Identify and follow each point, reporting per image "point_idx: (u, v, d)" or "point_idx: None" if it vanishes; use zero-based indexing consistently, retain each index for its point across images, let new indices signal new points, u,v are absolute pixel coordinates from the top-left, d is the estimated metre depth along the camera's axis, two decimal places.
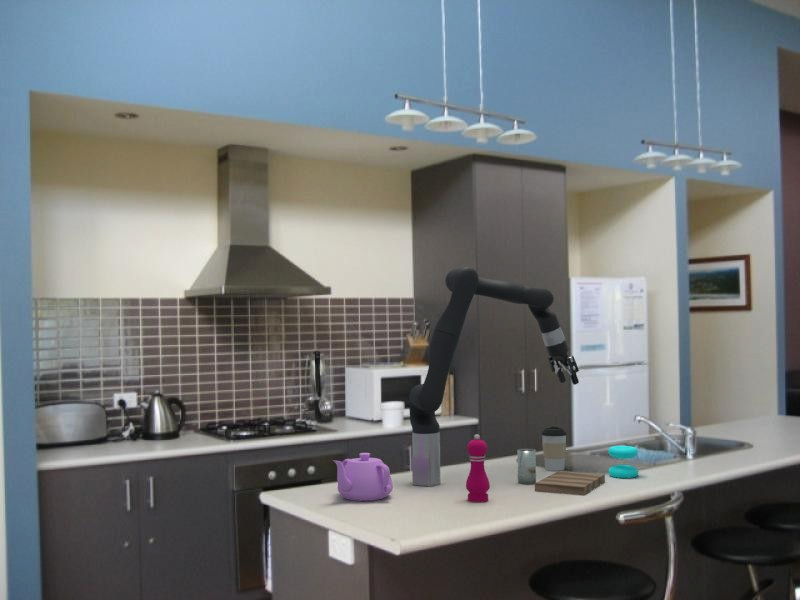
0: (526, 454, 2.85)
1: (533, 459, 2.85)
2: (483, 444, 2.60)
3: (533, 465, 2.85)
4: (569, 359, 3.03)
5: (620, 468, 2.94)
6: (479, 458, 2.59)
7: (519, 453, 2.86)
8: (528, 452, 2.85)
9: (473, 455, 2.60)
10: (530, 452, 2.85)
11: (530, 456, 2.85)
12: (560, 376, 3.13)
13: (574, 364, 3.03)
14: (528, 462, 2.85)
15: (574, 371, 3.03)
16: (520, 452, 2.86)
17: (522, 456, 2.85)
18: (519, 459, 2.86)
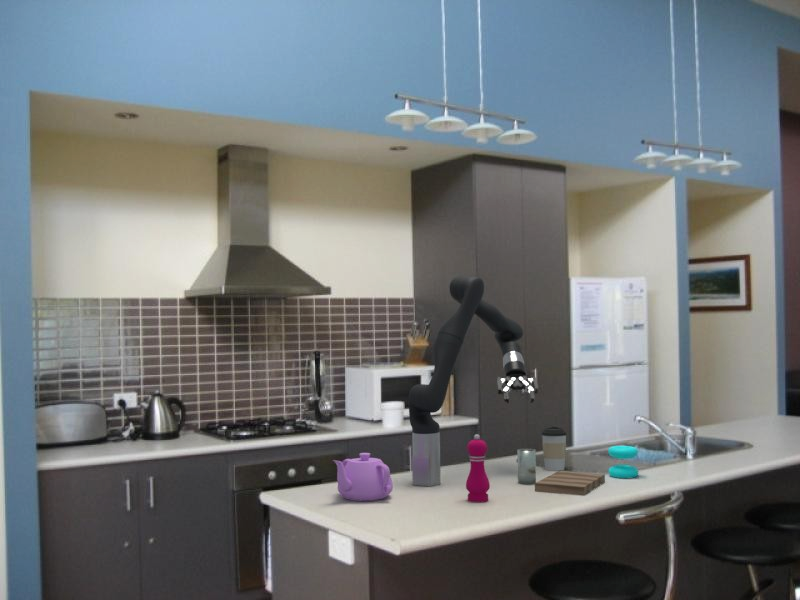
0: (526, 454, 2.85)
1: (533, 459, 2.85)
2: (483, 444, 2.60)
3: (533, 465, 2.85)
4: None
5: (620, 468, 2.94)
6: (479, 458, 2.59)
7: (519, 453, 2.86)
8: (528, 452, 2.85)
9: (473, 455, 2.60)
10: (530, 452, 2.85)
11: (530, 456, 2.85)
12: (507, 395, 3.01)
13: None
14: (528, 462, 2.85)
15: None
16: (520, 452, 2.86)
17: (522, 456, 2.85)
18: (519, 459, 2.86)
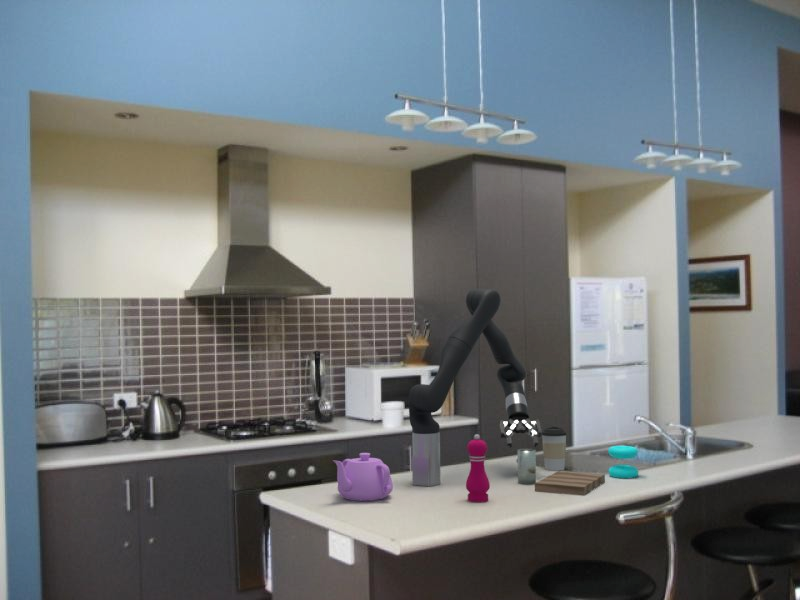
0: (526, 454, 2.85)
1: (533, 459, 2.85)
2: (483, 444, 2.60)
3: (533, 465, 2.85)
4: None
5: (620, 468, 2.94)
6: (479, 458, 2.59)
7: (519, 453, 2.86)
8: (528, 452, 2.85)
9: (473, 455, 2.60)
10: (530, 452, 2.85)
11: (530, 456, 2.85)
12: (510, 439, 2.96)
13: None
14: (528, 462, 2.85)
15: None
16: (520, 452, 2.86)
17: (522, 456, 2.85)
18: (519, 459, 2.86)
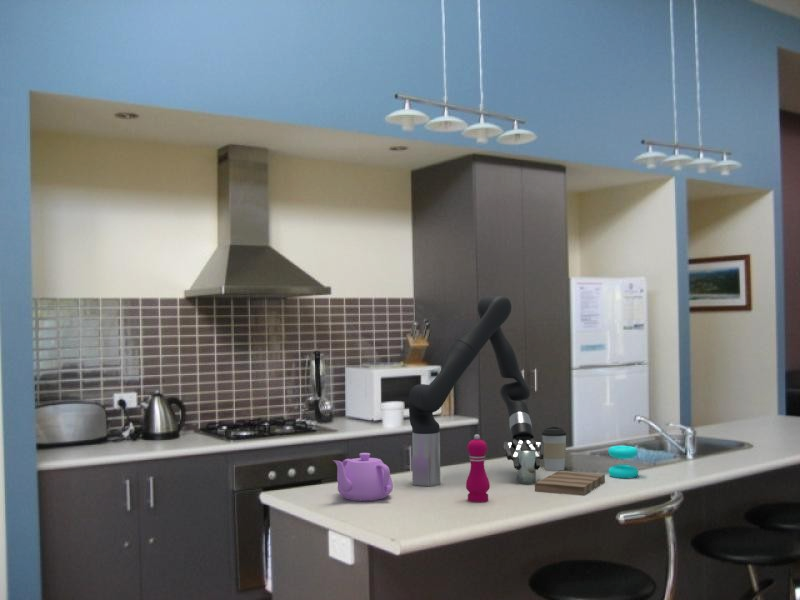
0: (526, 454, 2.85)
1: (533, 459, 2.85)
2: (483, 444, 2.60)
3: (533, 465, 2.85)
4: (543, 443, 2.92)
5: (620, 468, 2.94)
6: (479, 458, 2.59)
7: (519, 453, 2.86)
8: (528, 452, 2.85)
9: (473, 455, 2.60)
10: (530, 452, 2.85)
11: (530, 456, 2.85)
12: (517, 461, 2.87)
13: None
14: (528, 462, 2.85)
15: None
16: (520, 452, 2.86)
17: (522, 456, 2.85)
18: (519, 459, 2.86)
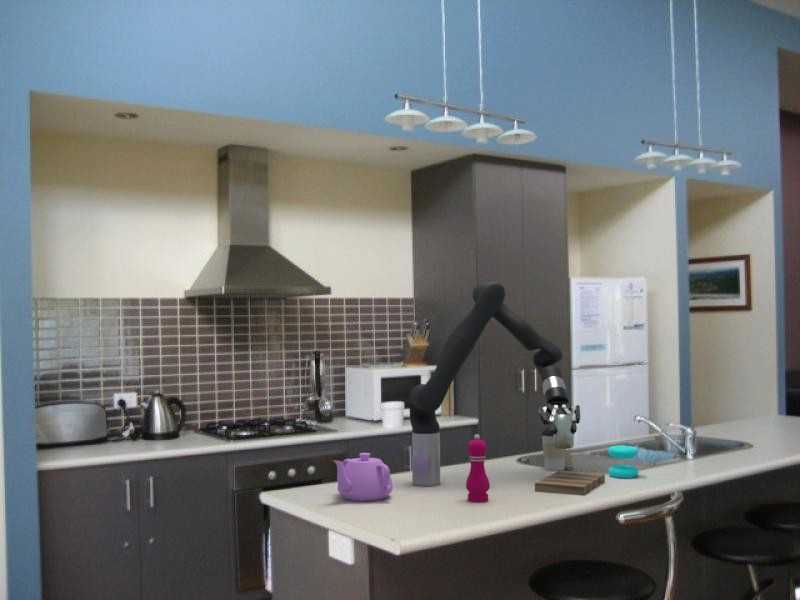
0: (562, 418, 2.80)
1: (569, 423, 2.80)
2: (483, 444, 2.60)
3: (570, 429, 2.80)
4: None
5: (620, 468, 2.94)
6: (479, 458, 2.59)
7: (555, 417, 2.81)
8: (564, 416, 2.80)
9: (473, 455, 2.60)
10: (566, 416, 2.80)
11: (567, 420, 2.80)
12: None
13: None
14: (565, 425, 2.80)
15: None
16: (556, 416, 2.81)
17: (558, 420, 2.80)
18: (555, 423, 2.81)
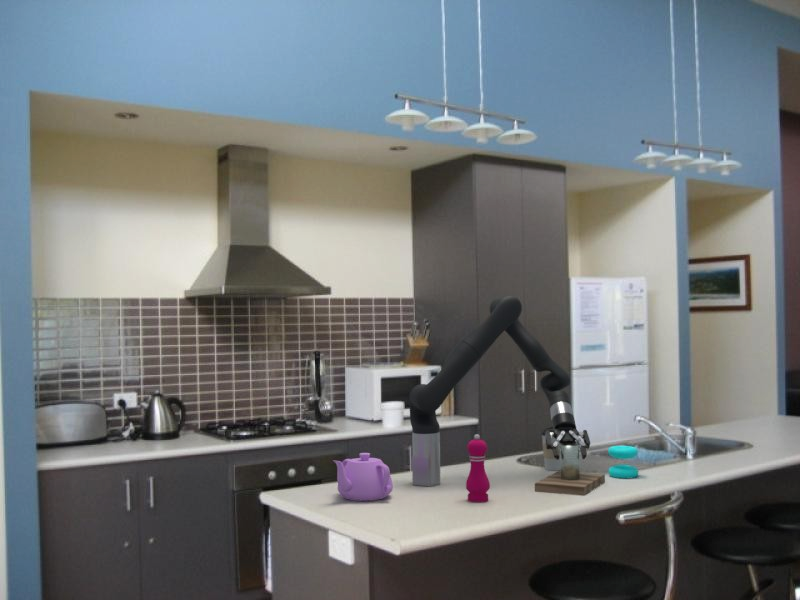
0: (569, 449, 2.78)
1: (577, 454, 2.78)
2: (483, 444, 2.60)
3: (577, 460, 2.78)
4: None
5: (620, 468, 2.94)
6: (479, 458, 2.59)
7: (562, 448, 2.79)
8: (572, 447, 2.78)
9: (473, 455, 2.60)
10: (573, 447, 2.78)
11: (574, 451, 2.78)
12: (557, 451, 2.81)
13: None
14: (572, 457, 2.78)
15: None
16: (563, 447, 2.79)
17: (565, 451, 2.78)
18: (562, 454, 2.79)
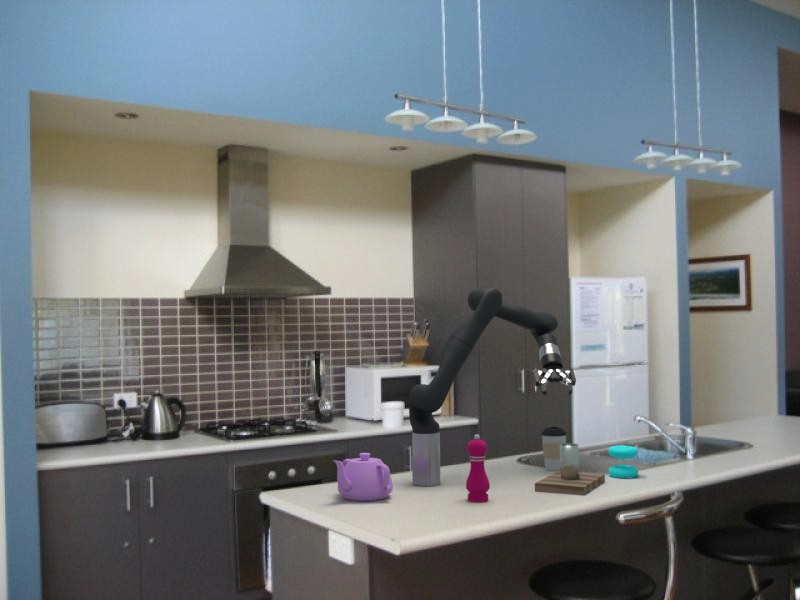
0: (569, 449, 2.78)
1: (576, 454, 2.78)
2: (483, 444, 2.60)
3: (576, 460, 2.78)
4: None
5: (620, 468, 2.94)
6: (479, 458, 2.59)
7: (561, 448, 2.79)
8: (571, 447, 2.78)
9: (473, 455, 2.60)
10: (573, 447, 2.78)
11: (573, 451, 2.78)
12: (545, 387, 3.00)
13: None
14: (571, 457, 2.78)
15: None
16: (562, 447, 2.79)
17: (565, 451, 2.78)
18: (562, 454, 2.79)
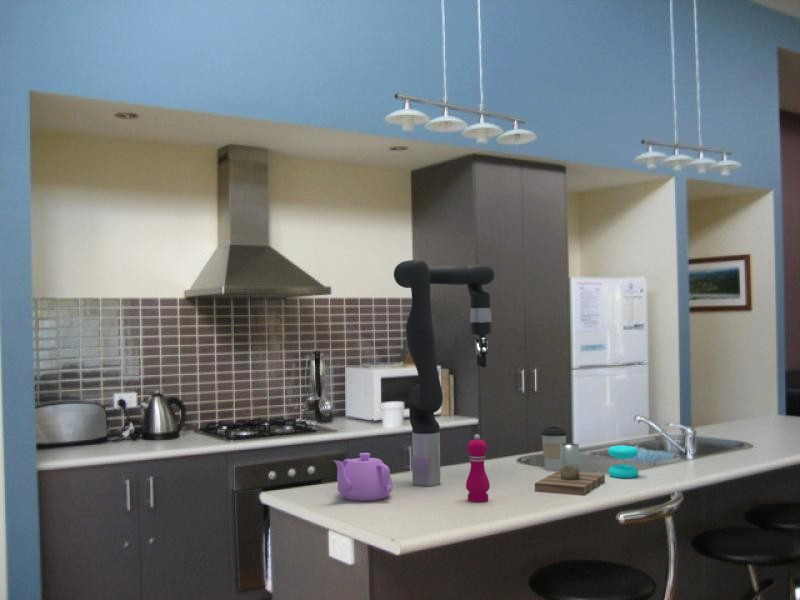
0: (569, 448, 2.78)
1: (576, 454, 2.79)
2: (483, 444, 2.60)
3: (576, 460, 2.78)
4: (481, 339, 3.00)
5: (620, 468, 2.94)
6: (479, 458, 2.59)
7: (562, 447, 2.80)
8: (571, 446, 2.78)
9: (473, 455, 2.60)
10: (573, 446, 2.78)
11: (573, 450, 2.78)
12: (478, 358, 3.11)
13: (484, 346, 3.00)
14: (571, 456, 2.78)
15: (481, 352, 3.00)
16: (563, 446, 2.79)
17: (565, 450, 2.79)
18: (562, 454, 2.80)
